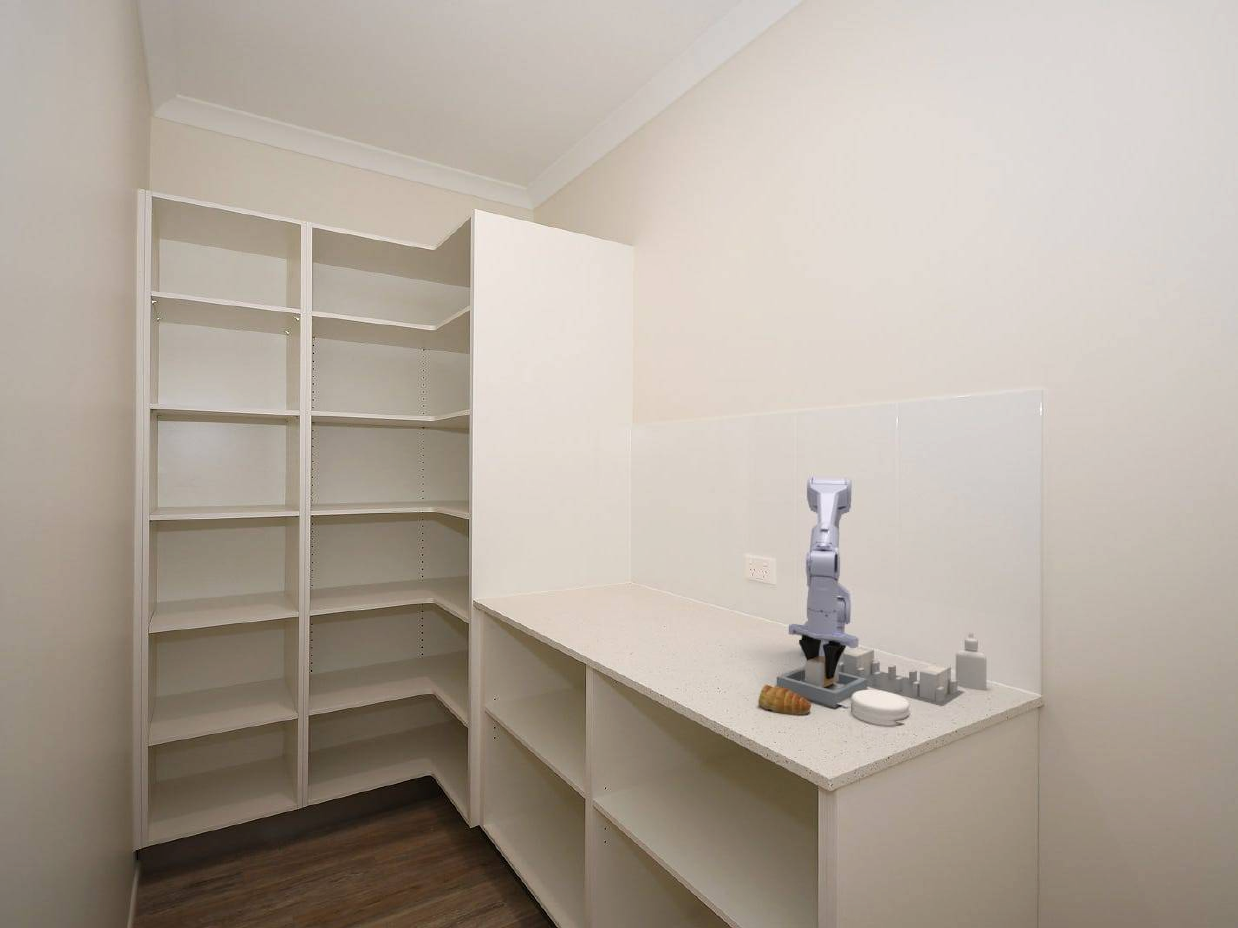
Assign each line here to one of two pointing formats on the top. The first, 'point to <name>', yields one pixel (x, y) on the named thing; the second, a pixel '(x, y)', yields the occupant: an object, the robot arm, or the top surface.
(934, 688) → the block
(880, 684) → the panel
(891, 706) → the white round tin
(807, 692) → the tray
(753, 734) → the top surface
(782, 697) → the pastry
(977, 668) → the eye dropper bottle
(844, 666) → the ivory fuse left
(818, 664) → the orange fuse
